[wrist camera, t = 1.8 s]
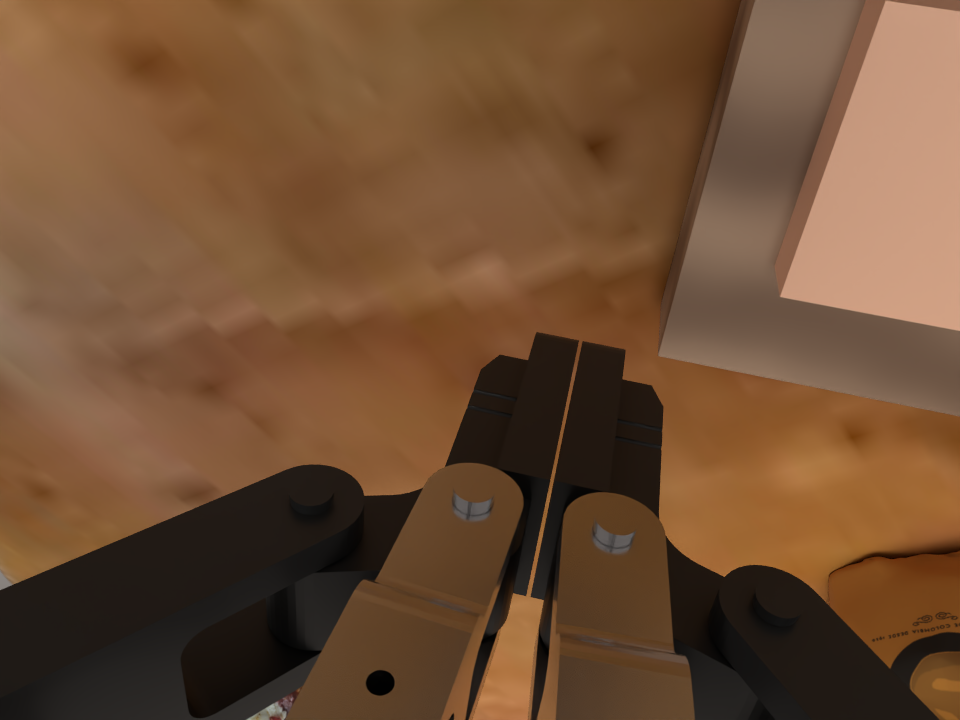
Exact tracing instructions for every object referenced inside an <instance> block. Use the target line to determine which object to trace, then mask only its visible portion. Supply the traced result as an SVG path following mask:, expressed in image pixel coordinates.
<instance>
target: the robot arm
mask: <svg viewBox="0 0 960 720" xmlns="http://www.w3.org/2000/svg"><path fill="white" fill-rule="evenodd" d="M578 342H579V340H574V339H569V338H564V337H559V336H554V335H549V334H544V333H539V332H537V333H536V335H535V339H534V342H533V345H532V349H531V352H530V356H529V359H528V360H523V359H518V358H513V357H509V356H504V355H499V356H498V357H496V358H495V359H494V360H492V361H491V362H490V363H489V364H487V365H486V366H485V367H484V368H482V369H481V371H480V374H479V377H478V379H477V382H476V385H475V387H474V391H473V393H472V395H471V398H470V401H469V404H468V408H467V409H466V412H465V414H464V417H463V420H462V422H461V425H460V428H459V430H458V433H457V436H456V439H455V441H454V444H453V447H452V449H451V452H450V455H449V457H448V460H447V463H446V465H445V467H444V468H442V469H440V470H438V471H437V472H435V473H434V474H433V475H432V476H431V477H430V478H429V479H428V480H427V482H426V483H425V485H424V487H423V488H421V489H419V490H416V491H413V492H410V493H405V494H400V495H380V496H364V493H363V490H362V488H361V486H360V484H359V483H358V482H357V480H356V479H354V478H353V477H352V476H351V475H350V474H348V473H346V472H345V471H342V470H340V469H338V468H335V467H331V466H326V465H302V466H297V467H293V468H290V469H287V470H285V471H282V472H280V473H278V474H275V475H273V476H270V477H268V478H266V479H263V480H261V481H259V482H256V483H254V484H251V485H249V486H247V487H244V488H242V489H240V490H237V491H235V492H232V493H230V494H228V495H225V496H223V497H221V498H218V499H216V500H213V501H211V502H209V503H206V504H204V505H202V506H199V507H197V508H194V509H192V510H190V511H187V512H185V513H183V514H180V515H178V516H175V517H173V518H171V519H168V520H166V521H164V522H161V523H159V524H156V525H154V526H152V527H149V528H147V529H145V530H142V531H140V532H137V533H135V534H133V535H130V536H128V537H126V538H123V539H121V540H118V541H116V542H114V543H111V544H109V545H107V546H104V547H102V548H99V549H97V550H95V551H92V552H90V553H88V554H85V555H83V556H80V557H78V558H76V559H73V560H71V561H69V562H66V563H64V564H61V565H59V566H57V567H54V568H52V569H50V570H47V571H45V572H42V573H40V574H38V575H35V576H33V577H31V578H28V579H26V580H23V581H21V582H19V583H16V584H14V585H12V586H9V587H7V588H5V589H2V590H0V720H247V719H248V718H250V717H252V716H253V715H255V714H257V713H258V712H260V711H262V710H264V709H265V708H267V707H269V706H270V705H272V704H274V703H275V702H277V701H279V700H280V699H282V698H284V697H285V696H287V695H289V694H290V693H292V692H294V691H295V690H297V689H299V688H301V687H302V686H303V687H302V689H301V691H300V693H299V695H298V696H297V698H296V700H295V702H294V704H293V706H292V708H291V710H290V711H289V713H288V715H287V717H286V719H285V720H472V719H473V716H474V713H475V710H476V707H477V704H478V701H479V698H480V695H481V692H482V688H483V685H484V682H485V679H486V676H487V673H488V670H489V667H490V664H491V661H492V658H493V655H494V652H495V649H496V646H497V643H498V640H499V635H500V630H501V627H502V626H503V624H504V623H505V621H506V619H507V616H508V612H509V608H510V603H511V599H512V595H513V593H515V594H519V595H524V596H526V594H527V589H528V585H529V580H530V575H531V570H532V565H533V561H534V556H535V551H536V546H537V541H538V536H539V532H540V527H541V522H542V517H543V512H544V507H545V503H546V498H547V493H548V488H549V483H550V479H551V474H552V469H553V464H554V459H555V454H556V450H557V445H558V440H559V435H560V430H561V425H562V421H563V416H564V411H565V406H566V401H567V396H568V391H569V386H570V381H571V376H572V372H573V367H574V362H575V357H576V352H577V347H578ZM624 360H625V350H624V349H619V348H614V347H609V346H604V345H599V344H594V343H589V342H584V341H583V342H582V347H581V352H580V357H579V361H578V366H577V371H576V376H575V381H574V386H573V390H572V395H571V400H570V405H569V410H568V414H567V419H566V424H565V429H564V434H563V439H562V444H561V449H560V454H559V459H558V463H557V468H556V473H555V478H554V483H553V488H552V493H551V498H550V503H549V508H548V513H547V518H546V523H545V528H544V533H543V538H542V543H541V548H540V553H539V558H538V563H537V568H536V573H535V578H534V583H533V588H532V593H531V597H533V598H537V599H542V600H544V603H543V608H542V614H541V619H540V624H539V629H538V633H537V638H536V642H535V647H534V657H533V668H532V678H531V689H530V700H529V711H528V720H940V719H939V718H938V717H937V716H936V715H935V714H934V713H933V712H932V711H931V710H930V709H929V708H928V707H927V706H926V705H925V704H924V703H923V702H922V701H921V700H920V699H919V698H918V697H917V696H916V695H915V694H914V693H913V692H912V691H911V690H910V689H909V688H908V687H907V686H906V684H905V683H904V682H903V681H902V680H901V679H900V678H899V677H898V676H897V675H896V674H895V673H894V672H893V671H892V670H891V669H890V668H889V667H888V666H887V665H886V664H885V663H884V662H883V661H882V660H881V659H880V658H879V657H878V656H877V655H876V654H875V653H874V652H873V651H872V650H871V648H870V647H869V646H868V645H867V644H866V643H865V642H864V641H863V640H862V639H861V638H860V637H859V636H858V635H857V634H856V633H855V632H854V631H853V630H852V629H851V628H850V627H849V626H848V625H847V624H846V623H845V622H844V621H843V620H842V619H841V618H840V617H839V616H838V615H837V614H836V612H835V611H834V610H833V609H832V608H831V607H830V606H829V605H828V604H827V603H826V602H825V601H824V600H823V599H822V598H821V597H820V596H819V595H818V594H817V593H816V592H815V591H814V590H813V589H812V588H811V587H810V586H808V585H807V584H806V583H804V582H803V581H802V580H800V579H799V578H797V577H795V576H793V575H792V574H789V573H787V572H785V571H783V570H780V569H776V568H773V567H768V566H762V565H749V566H743V567H739V568H737V569H735V570H733V571H731V572H730V573H729V574H727V575H726V576H725V577H723V576H721V575H719V574H717V573H715V572H713V571H711V570H709V569H707V568H705V567H703V566H701V565H699V564H697V563H696V562H694V561H692V560H690V559H689V558H688V557H686V556H685V555H683V554H682V553H681V552H680V551H679V550H678V549H676V548H675V547H674V545H673V544H672V543H671V542H670V541H669V540H668V538H667V537H666V535H665V530H664V528H663V526H662V524H661V522H660V520H659V495H660V472H661V446H662V426H663V405H662V404H661V402H660V400H659V398H658V396H657V395H656V393H655V391H654V389H653V387H652V386H651V385H647V384H642V383H637V382H632V381H627V380H622V377H623V369H624Z"/></svg>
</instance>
